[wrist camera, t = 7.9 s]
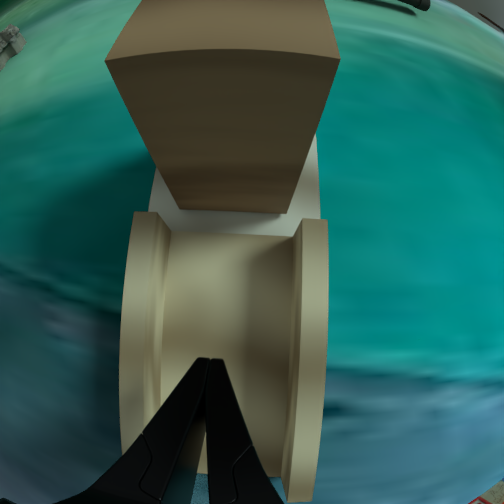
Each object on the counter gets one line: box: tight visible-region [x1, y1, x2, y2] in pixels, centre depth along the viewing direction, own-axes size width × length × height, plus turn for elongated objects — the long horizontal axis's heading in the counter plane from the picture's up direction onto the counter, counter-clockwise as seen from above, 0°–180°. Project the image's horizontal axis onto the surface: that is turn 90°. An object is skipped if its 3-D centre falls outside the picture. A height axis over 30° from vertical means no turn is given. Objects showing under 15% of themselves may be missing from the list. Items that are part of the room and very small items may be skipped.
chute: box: [119, 133, 328, 503], centre depth 15 cm, size 22×10×4 cm, turn 177°
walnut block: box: [105, 0, 340, 214], centre depth 12 cm, size 6×6×11 cm
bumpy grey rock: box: [0, 24, 27, 71], centre depth 22 cm, size 11×8×4 cm
